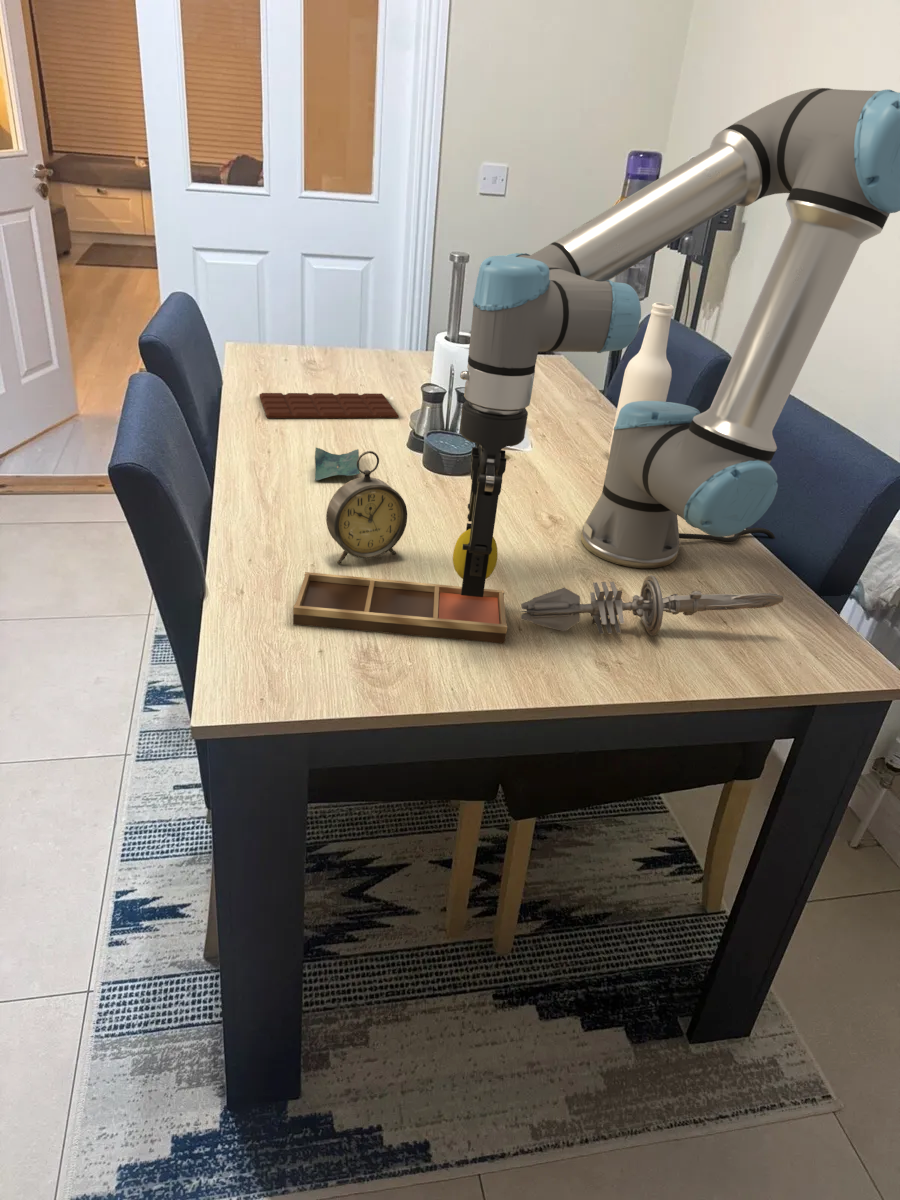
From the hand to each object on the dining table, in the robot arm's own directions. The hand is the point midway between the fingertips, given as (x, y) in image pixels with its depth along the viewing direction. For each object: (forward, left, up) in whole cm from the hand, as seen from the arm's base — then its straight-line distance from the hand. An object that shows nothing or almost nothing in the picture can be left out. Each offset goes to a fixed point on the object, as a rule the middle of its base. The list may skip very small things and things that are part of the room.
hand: (471, 582), depth 107 cm
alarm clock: (+15, -15, -6) cm, 22 cm away
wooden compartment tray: (+8, 0, -6) cm, 10 cm away
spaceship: (-24, -2, -6) cm, 25 cm away
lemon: (0, 0, -1) cm, 1 cm away
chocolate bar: (+29, -80, -6) cm, 85 cm away
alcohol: (-33, -67, -6) cm, 75 cm away
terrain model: (+23, -47, -6) cm, 53 cm away
